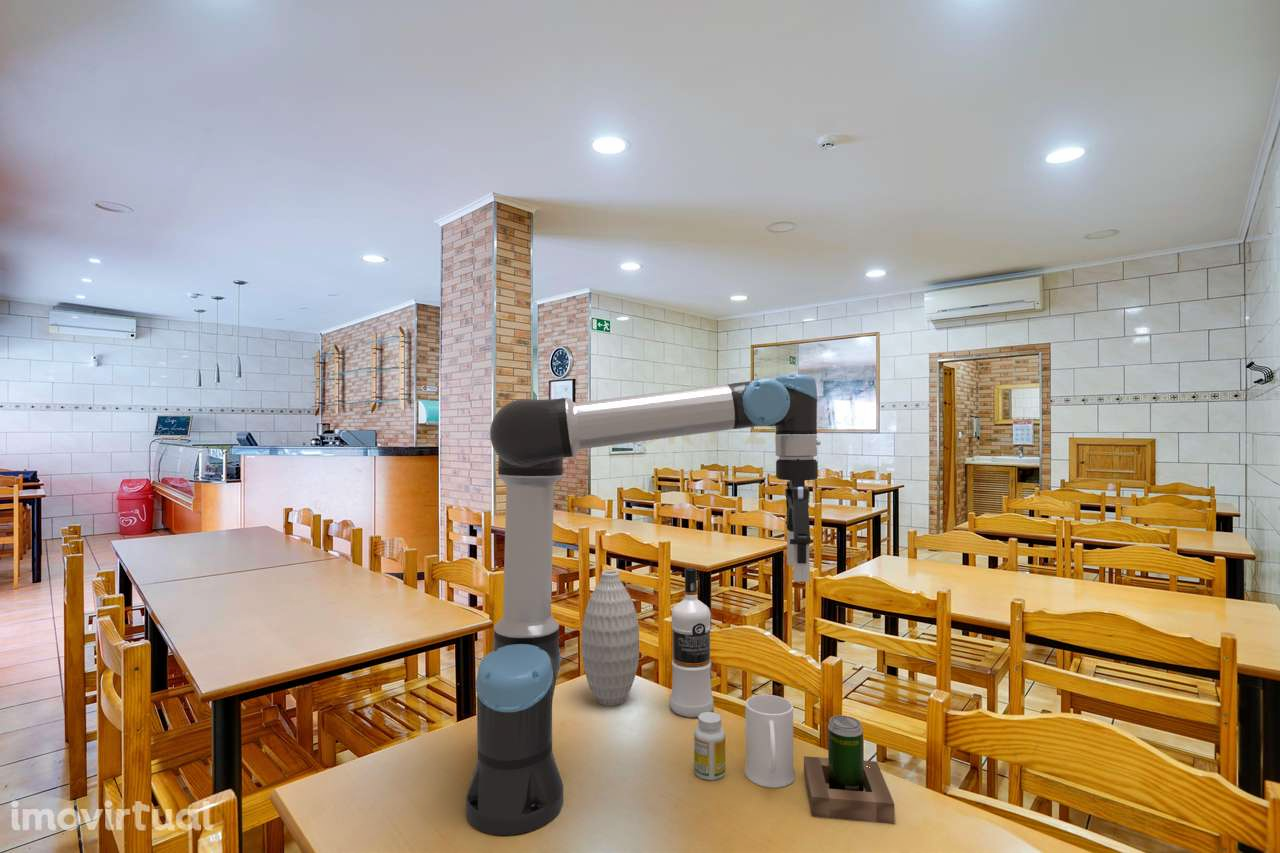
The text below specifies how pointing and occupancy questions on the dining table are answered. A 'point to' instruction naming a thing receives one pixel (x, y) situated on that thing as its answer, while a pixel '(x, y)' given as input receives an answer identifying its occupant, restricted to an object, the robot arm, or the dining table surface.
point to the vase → (610, 640)
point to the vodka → (691, 653)
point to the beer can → (845, 754)
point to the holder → (848, 794)
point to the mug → (769, 741)
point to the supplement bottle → (709, 747)
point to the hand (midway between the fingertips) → (797, 572)
